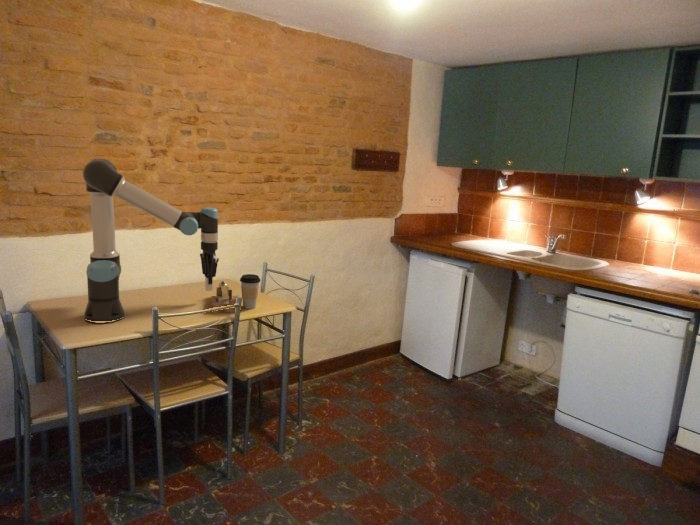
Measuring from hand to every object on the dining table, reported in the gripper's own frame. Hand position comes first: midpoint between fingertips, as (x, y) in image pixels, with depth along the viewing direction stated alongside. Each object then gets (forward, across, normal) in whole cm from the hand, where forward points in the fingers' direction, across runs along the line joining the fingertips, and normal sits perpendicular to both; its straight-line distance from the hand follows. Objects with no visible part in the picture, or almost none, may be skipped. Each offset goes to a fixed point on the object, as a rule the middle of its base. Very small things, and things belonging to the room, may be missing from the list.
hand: (208, 290), depth 241 cm
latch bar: (+1, +4, +6) cm, 7 cm away
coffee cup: (+7, +15, +12) cm, 21 cm away
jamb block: (+6, -2, +9) cm, 11 cm away
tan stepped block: (+6, +10, +2) cm, 12 cm away
